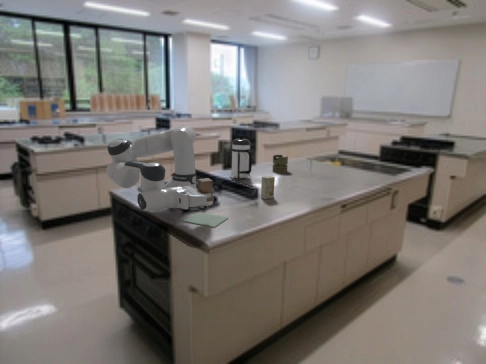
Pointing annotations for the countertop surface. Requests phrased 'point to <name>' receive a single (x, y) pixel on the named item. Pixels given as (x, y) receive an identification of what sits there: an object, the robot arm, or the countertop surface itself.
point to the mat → (206, 219)
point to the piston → (280, 164)
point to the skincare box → (267, 187)
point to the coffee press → (241, 158)
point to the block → (206, 189)
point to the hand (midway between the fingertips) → (207, 192)
